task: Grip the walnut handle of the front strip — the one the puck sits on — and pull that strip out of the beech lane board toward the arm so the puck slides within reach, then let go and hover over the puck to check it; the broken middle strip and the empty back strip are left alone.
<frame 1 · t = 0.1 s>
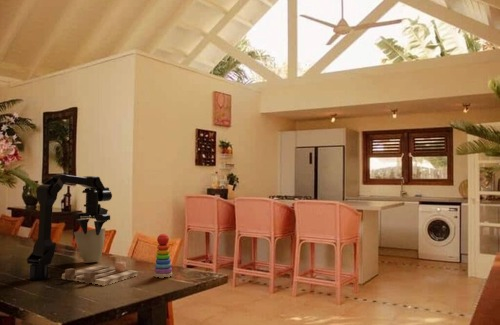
hand: (91, 234, 204), 15 cm above the table, tool pointing down, fingers open, 8 cm apart
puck: (120, 270, 186), point 2 cm above the table, touching strip a
lane board: (100, 277, 183), on the table
strip a: (106, 272, 179), point 3 cm above the table, slide at 0.0 cm, touching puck
stacking toy: (163, 276, 187), on the table
plant pot: (92, 262, 212), on the table, touching gripper
strip b: (87, 269, 184), point 3 cm above the table, slide at 0.0 cm
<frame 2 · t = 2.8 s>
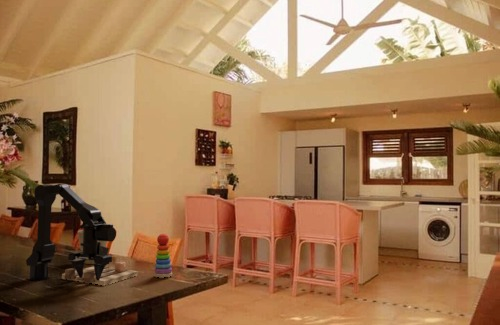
hand: (89, 278, 170), 2 cm above the table, tool pointing down, fingers open, 9 cm apart
plant pot: (92, 263, 212), on the table
everything else where it was.
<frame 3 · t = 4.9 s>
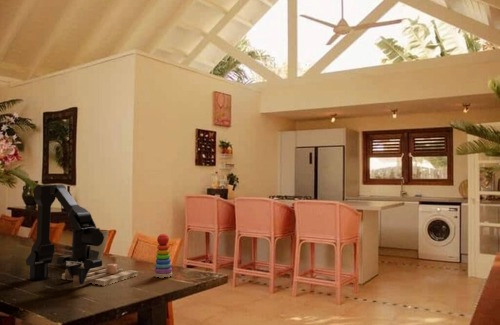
hand: (78, 283, 165), 2 cm above the table, tool pointing down, fingers closed on strip a, 3 cm apart
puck: (111, 272, 181), point 2 cm above the table, touching strip a
strip a: (97, 275, 174), point 3 cm above the table, slide at 5.3 cm, touching gripper, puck
everything else where it was.
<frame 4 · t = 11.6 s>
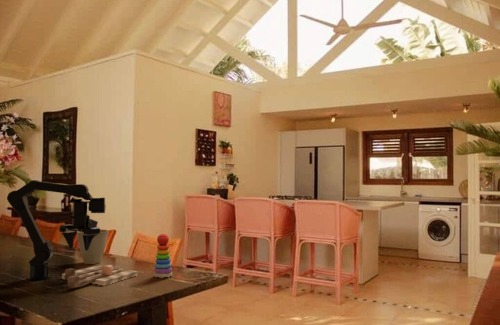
hand: (78, 249, 182), 12 cm above the table, tool pointing down, fingers open, 9 cm apart
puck: (106, 274, 179), point 2 cm above the table, touching strip a
strip a: (92, 276, 172), point 3 cm above the table, slide at 8.0 cm, touching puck
everything else where it was.
at the end: strip a slide at 8.0 cm; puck 0.2 cm from the target spot, point 2.4 cm above the table; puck tilted 0° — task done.
